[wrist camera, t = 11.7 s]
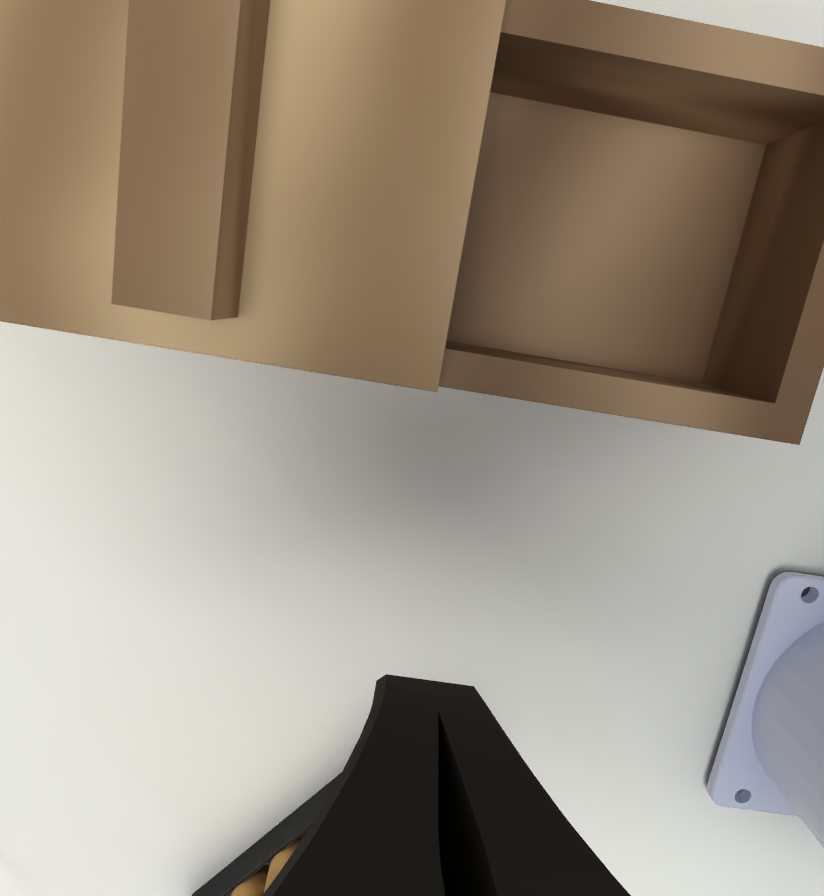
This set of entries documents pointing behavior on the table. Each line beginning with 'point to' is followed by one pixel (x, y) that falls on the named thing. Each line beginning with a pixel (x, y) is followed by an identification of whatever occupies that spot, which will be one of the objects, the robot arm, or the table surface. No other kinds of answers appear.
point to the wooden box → (646, 222)
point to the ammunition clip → (267, 853)
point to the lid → (244, 175)
